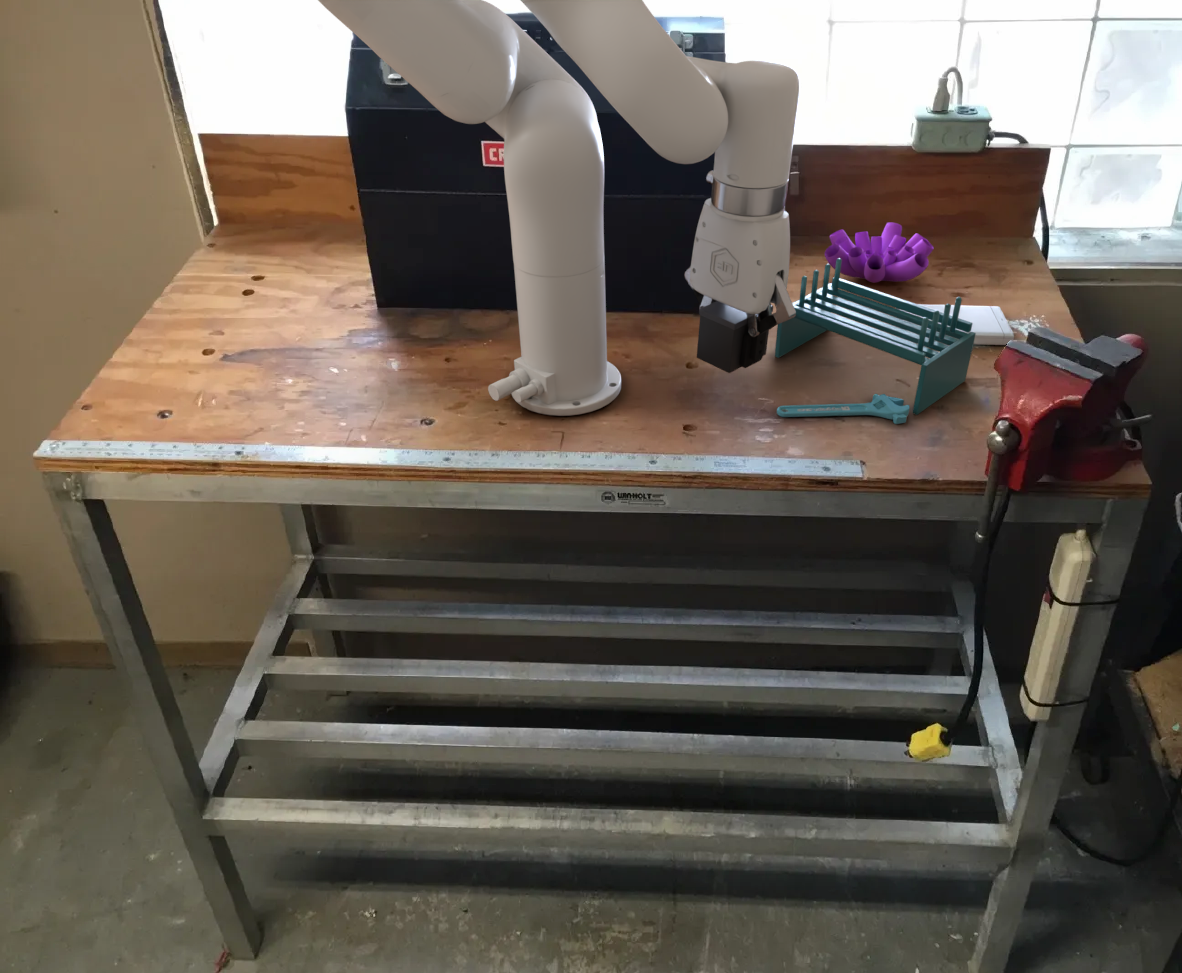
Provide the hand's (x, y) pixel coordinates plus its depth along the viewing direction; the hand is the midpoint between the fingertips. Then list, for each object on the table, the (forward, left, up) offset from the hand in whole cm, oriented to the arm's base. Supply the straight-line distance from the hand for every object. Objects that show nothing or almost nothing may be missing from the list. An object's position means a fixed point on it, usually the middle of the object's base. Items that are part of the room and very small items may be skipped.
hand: (731, 352), depth 110 cm
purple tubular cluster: (+34, +3, -4) cm, 34 cm away
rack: (+13, -10, -3) cm, 16 cm away
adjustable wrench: (+3, -13, -3) cm, 14 cm away
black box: (0, 0, 0) cm, 0 cm away
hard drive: (+28, -12, -4) cm, 30 cm away
